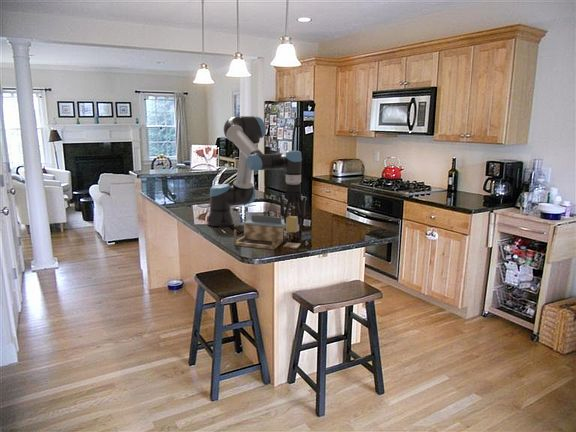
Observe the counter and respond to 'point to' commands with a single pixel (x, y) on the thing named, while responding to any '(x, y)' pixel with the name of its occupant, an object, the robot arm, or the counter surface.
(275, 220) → the cover
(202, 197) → the counter surface
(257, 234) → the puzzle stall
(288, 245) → the cork coaster
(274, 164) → the robot arm
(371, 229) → the counter surface
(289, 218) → the ochre block
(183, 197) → the counter surface
